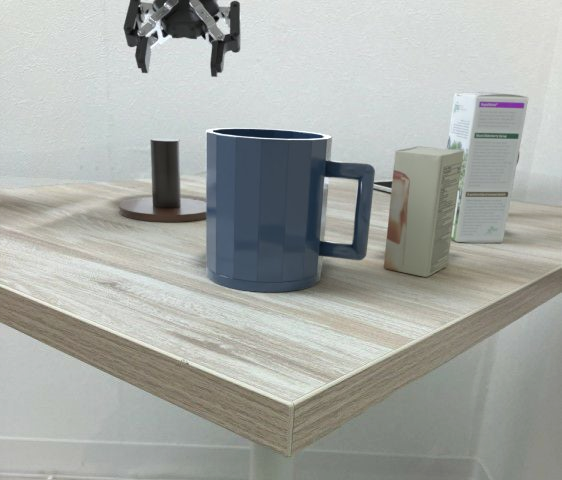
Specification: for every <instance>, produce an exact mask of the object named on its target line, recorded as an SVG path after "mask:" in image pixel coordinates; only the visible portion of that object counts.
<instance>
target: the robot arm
mask: <svg viewBox="0 0 562 480" xmlns="http://www.w3.org/2000/svg"><path fill="white" fill-rule="evenodd" d="M148 17H149V18H148ZM147 19H148V21H147V22H146V20H147ZM220 19H221V20H223V21H224V24H225V25H227V28H228V29H229V33H226V34H225V33H224V32H223V31H222V30H221V29H220V27H219V26H218V24H217V23H218V22H219V21H220ZM241 21H242V19H241V3H240V1H238V0H232V1H231V2H230V5H229V6H219V4H218V0H153V2H145V1H141V0H129V3H128V8H127V12H126V17H125V20H124V24H123V32H124V36H125V40H126V44H127V46H128V47H129V48H134V47H135V53H134V57H135V62H136V66H137V68H138V69H140V71H141V73H142V74H149V70H150V63H151V57H152V50H153V48H154V47H156V46H157V45H158V44H159V45H163V44H164V43H165V42H166V41H167V40H168V39H170V38H172V39H183V38H185V39H188V40H189V39H190V40H197V39H198V38H200V39H201V40H202V41H203V42H204V43H205V45H206V46H207V47H208V48H211V51H210V52H211V53H210V65H209V66H210V76H211V78H218V76H219V75H218V74H219V73H220V74H222V73H223V71H224V65H225V57H226V56H225V55H226V54H227V53H228V52H230V51H231V52H232V53H235V54H236V53H239V52H241V29H242V28H241V24H242V23H241ZM142 24H144V25H143V26H142Z"/></svg>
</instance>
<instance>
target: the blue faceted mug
mask: <svg viewBox="0 0 562 480" xmlns="http://www.w3.org/2000/svg"><path fill="white" fill-rule="evenodd" d="M332 143H333V137H332V136H331V135H328V134H323V133H318V132H312V131H301V130H291V129H279V128H278V129H277V128H255V127H253V128H252V127H222V128H221V127H220V128H211V129H206V130H205V202H206V219H205V236H206V237H205V244H206V245H205V267H206V268H205V269H206V270H205V275H206V277H207V278H208V279H209V280H210V281H212V282H213V283H215V284H217V285H220V286H223V287H226V288H229V289H234V290H240V291H247V292H255V293H256V292H258V293H284V292H294V291H299V290H305V289H308V288H311V287H313V286H315V285H317V284H319V282H320V280H321V276H322V275H321V274H322V273H321V272H322V270H323V262H324V257H325V258H333V259H342V260H349V261H350V260H351V261H363V260H365V258H366V257H367V253H368V244H369V235H370V224H371V217H372V216H371V215H372V206H373V196H374V189H375V188H374V180H375V177H376V169H375V167H374V166H373V165H372V164H370V163H364V162H363V163H362V162H350V161H337V160H331V158H332V156H331V155H332ZM330 179H340V180H341V179H342V180H353V181H357V186H356V198H355V208H354V218H353V227H352V240H351V243H346V242H336V241H328V240H325V235H326V221H327V211H328V197H329V185H330Z"/></svg>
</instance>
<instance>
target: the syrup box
mask: <svg viewBox="0 0 562 480" xmlns="http://www.w3.org/2000/svg"><path fill="white" fill-rule="evenodd" d="M528 103H529V96H526V95H521V94H517V93H514V94H513V93H503V92H501V93H500V92H482V91H481V92H480V91H479V92H478V91H477V92H476V91H475V92H474V91H472V92H455V93H454V95H453V101H452V108H451V115H450V123H449V130H448V138H447V145H446V149H454V150H464V153H463V160H462V167H461V174H460V181H459V188H458V195H457V202H456V208H455V215H454V222H453V229H452V236H451V241H453V242H457V243H469V244H470V243H471V244H474V243H475V244H489V243H491V244H492V243H493V244H494V243H503V241H504V238H505V232H506V227H507V221H508V216H509V211H510V204H511V200H512V199H511V198H512V194H513V188H514V183H515V176H516V171H517V167H518V163H517V160H518V154H519V155H520V147H521V142H522V137H523V130H524V125H525V120H526V115H527V108H528ZM518 161H519V160H518Z"/></svg>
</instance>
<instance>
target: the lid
mask: <svg viewBox="0 0 562 480" xmlns="http://www.w3.org/2000/svg"><path fill="white" fill-rule="evenodd" d="M150 164H151V165H150V166H151V167H150V168H151V169H150V170H151V194H152V195H151V197H142V198H134V199H128V200H125V201H122V202H120V203H119V204H118V213H119V214H120V215H121V216H123V217H125V218H129V219H132V220H136V221H137V220H138V221H143V222H154V223H155V222H156V223H186V222H196V221H202V220H206V201H202V200H198V199H192V198H182V197H181V195H182V194H181V193H182V192H181V143H180V139H176V138H163V137H162V138H161V137H160V138H159V137H157V138H156V137H155V138H150Z"/></svg>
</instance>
